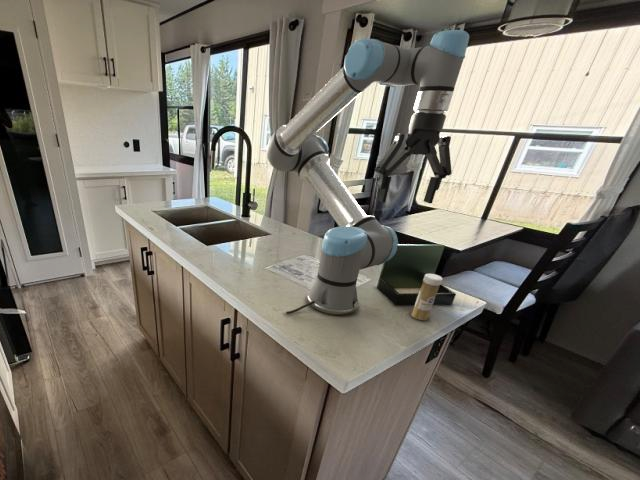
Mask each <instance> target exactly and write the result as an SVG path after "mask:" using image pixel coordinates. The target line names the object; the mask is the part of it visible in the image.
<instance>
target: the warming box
mask: <svg viewBox="0 0 640 480" xmlns="http://www.w3.org/2000/svg"><path fill="white" fill-rule="evenodd" d="M445 247H446V245H445V244H409V243H408V244H407V243H406V244H404V243H403V244H402V243H401V244H400V243H398V245H397V250H396V253H395V254H394V256H393V257H392V258H391V259H390V260H388V261H386V262H384V263H383V264H382V267H381V270H380V274H379V278H378V281H377V284H376V289H377V290H378V291H379V292H380V293H381V294H382V295H383V296H384V297H385V298H387V300H388V301H390V302H391V304H393V305H394V306H395V307H397V306H398V307H399V306H400V307H406V306H415V303H416V300H417V297H418V294H419V292H415V293H408V292H407V293H400V292H398V290H399V289H401V290H402V289H404V290H406V289H407V290H410V289H421V286H422V284H423V279H424V276H425V274H435V275H436V271H437V269H438V265H439V263H440V261H441V258H442V255H443V252H444V249H445ZM456 295H457V293H456V292H455V291H452V290H451V289H449V288H448V287H447V286H445V285H443V283H441V285H440V286H439V288H438V291H437V294H436V297H435V299H434V303H433V305H432V306H449V305H450V306H451V305H453V304H454V303H453V302H454V300H455V298H456Z"/></svg>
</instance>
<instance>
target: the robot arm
mask: <svg viewBox="0 0 640 480" xmlns="http://www.w3.org/2000/svg"><path fill="white" fill-rule="evenodd" d="M469 41H470V34H469V32H468V31H465V30H462V29H448V30H447V29H446V30H441V31H439V32H436V33H435V34H433V36H432V38H431V41H430V42H429V45H426V46H421V47H411V48H407V47H403V46H400V45H396V44H392V43H387V42H384V41H381V40H379V39H376V38H365V37H364V38H360V39H357V40H355V41H354V42H353V43H352V44H351V45H350V46H349V48H348V51H347V53H346V54H345V56H344V62H343V66H342V68H341V69H340V70H339V71H338V72H336V74H335V75H334V76H333V77H332V78H331V79H330V80H329V81H328V82H327V83H326V84H325V85H324V86H323V87H322V88H321V89H320V90H319V91H318V92H317V93H316V94H315V95H314V96H313V97H312V98H311V99H310V100H309V101H308V102H307V103H306V104H305V105H304V107H302V108H301V109H300V110H299V111H298V113H296V114H295V116H294V117H293V118H292V119H291V120H289V122H288V123H287V124H284V125H281V126H279V127H278V129H276V130H275V131H274V132H273V134H272V135H271V136H270V138H269V140H268V143H267V145H266V157H267V160H268V162H269V164H270V165H271V167H272V168H274V169H275V170H277V171H280V172H295V173H296V175H297V176H298V177H299V179H300V180H301V181H302V182H307V183H308V184H309V185H310V187H311V188H312V190H313V192H314V193H315V194H316V195H317V197H318V199H319V200H320V201H321V203H322V204H323V205H324V207H325V209H326V210H327V211H328V213H329V215H331V217H332V218H333V220H334V221H335V223H336V224H337V225H338V226H336V227H333V228H330V229H329V230H327V231H326V232H325V234H324V236H323V240H322V242H321V251H320V257H319V262H318V269H317V275H316V278H315V279H314V282H313V283H312V286H311V287H310V289H309V290H308V293H307V299H306V300H307V303H305V304H303V305H301V306H299V307H298V308H295V309H292V310H288V311H285V314H286V315H290V314H293V313H294V314H295V313H297V312H298V311H301V310H302V309H305V308H307V307H309V306H310V307H311V308H313V309H314V310H316V311H318V312H320V313H323V314H326V315H330V316H332V315H333V316H347V315H351V314H353V313H355V312H356V310H357V309H358V306H359V305H360V302H359V299H358V291H357V282H358V278H359V273H360V270H364V269H369V268H371V267H374V266H380V265H383V263H384V262H386V261H388V260H390V259H391V258H392V257H393V256H394V254H395V253H396V250H397V245H398V244H399V240H398V236H397V233H396V232H395V230H394V229H393V228H392V227H390V226H387V225H381V224H380V223H379V221H378V220H377V218H376V217H375V216H374V215H367V214H366V212H365V211H364V209H362V207H361V206H360V204H358V202H357V200H356V199H355V198H354V196H353V195H352V194H351V192H350V191H349V190H348V187H346V185H345V184H344V183H343V181H341V179H340V177H339V176H338V175H337V173H336V172H335V171H334V169H333V168H332V167H331V166H330V160H331V159H330V152H329V150H330V149H329V145H328V143H327V141H326V140H325V139H324V138H323V137H321V136H319V135H316V134H317V133H318V132H319V130H321V129H322V128H323V127H324V126H325V125H326V124H328V123H329V122H330V121H331V120H332V119H333V118H334V117H336V116H337V115H338V114H339V113H340V112H342V110H344V108H346V107H347V106H348V105H349V104H350V103H352V101H353V100H355V99H356V98H357V97H358V96H359V95H361V93H362V92H364V91H365V90H366V89H367V88H369V87H370V86H371V85H372V84H374V83H378V84H379V86H382V87H388V88H389V87H391V88H396V87H403V86H404V87H405V86H419V88H418V92H417V95H416V99H415V102H414V106H413V111H414V113H413V114H411V118H410V122H409V125H408V133H407V134H404V133H396V134H395V135H394V138H393V140H392V143H391V145H390V146H389V147H388V149H387V150H386V152H385V153H384V155H383V156H382V158H381V160H379V163H378V164H377V165H376V167H375V168H374V172H375V173H377V174H378V175H380V178H379V182H378V189H379V193H378V198H377V201H378V202H381V203H386V201H387V197H388V193H389V189H390V185H391V181H392V176H391V174H392V173H393V172H394V171H395V170H396V169H397V168H398V167H400V165H401V164H402V163H404V161H405V160H406V159H407V158H408V157H410V156H411V155H416V156H418V155H421V156H425V157H426V159H427V160H428V163H429V166H430V169H431V171H432V174H433V175H434V176H430V178H429V182H428V185H427V188H426V191H425V195H424V198H423V202H424V203H426V204H433V202H434V199H435V195H436V192H437V191H438V190H439V189H440V187H441V183H442V180H443V179H446V178H447V177H448V176H451V175H452V173H453V172H452V171H453V170H452V161H451V152H450V151H451V149H450V144H451V139H452V137H451V136H450V135H441V136H440V134H441V132H442V130H443V128H444V125H445V122H446V119H447V115H446V112H447V111H449V109H450V105H451V101H452V98H453V95H454V92H455V87H456V85H457V81H458V79H459V78H458V77H459V75H460V72H461V68H462V66H463V63H464V59H466V53H467V52H466V51H467V49H468V44H469ZM404 143H405V146H404V147H403V148H401V147H402V145H404ZM437 145H438V151H437V149H436V146H437ZM400 149H401V150H400ZM399 150H400V152H399V153H398V151H399ZM397 153H398V154H397ZM396 154H397V155H396ZM438 155H439V156H438Z"/></svg>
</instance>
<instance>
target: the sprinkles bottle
mask: <svg viewBox="0 0 640 480" xmlns="http://www.w3.org/2000/svg"><path fill="white" fill-rule="evenodd" d="M443 279H444V278H443V277H442V276H441V275H438V274H436V273H435V274H425V276H424V279H423V284H422V286H421V288H419V291H418V293H419V294H418V297H417V300H416V303H415V305H413V309H412V312H411V317H412V318H414V319H416V320H419V321H427V320H428V318H429V316H430V312H431V310H432V308H433V306H434V305H433V303H434V299H435V297H436V294H437V291H438V288H439V286H440V285H441V284H443V283H442V282H443Z"/></svg>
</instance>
